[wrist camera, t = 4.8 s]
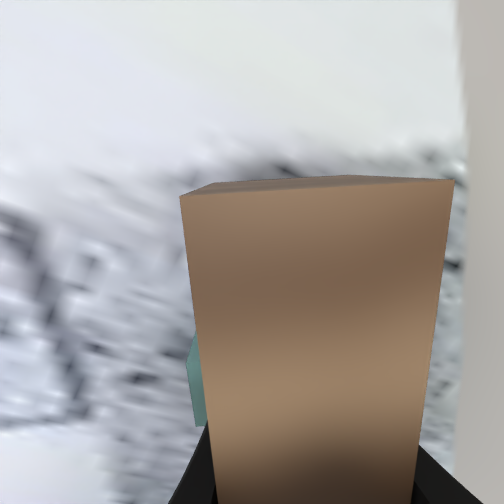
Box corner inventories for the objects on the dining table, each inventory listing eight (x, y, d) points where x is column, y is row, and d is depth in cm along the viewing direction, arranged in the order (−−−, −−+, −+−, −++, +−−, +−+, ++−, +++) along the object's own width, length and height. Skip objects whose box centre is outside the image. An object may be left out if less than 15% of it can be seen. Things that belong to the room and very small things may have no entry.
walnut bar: (336, 498, 14) (386, 677, 9) (243, 504, 14) (241, 687, 9) (348, 174, 9) (454, 179, 5) (213, 182, 9) (179, 196, 5)
